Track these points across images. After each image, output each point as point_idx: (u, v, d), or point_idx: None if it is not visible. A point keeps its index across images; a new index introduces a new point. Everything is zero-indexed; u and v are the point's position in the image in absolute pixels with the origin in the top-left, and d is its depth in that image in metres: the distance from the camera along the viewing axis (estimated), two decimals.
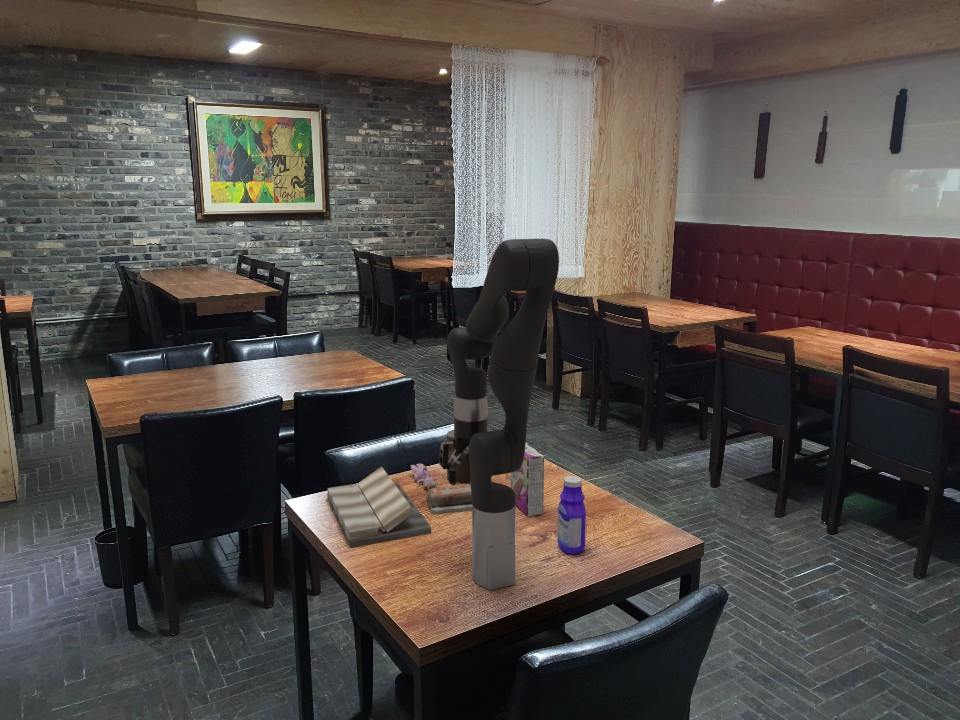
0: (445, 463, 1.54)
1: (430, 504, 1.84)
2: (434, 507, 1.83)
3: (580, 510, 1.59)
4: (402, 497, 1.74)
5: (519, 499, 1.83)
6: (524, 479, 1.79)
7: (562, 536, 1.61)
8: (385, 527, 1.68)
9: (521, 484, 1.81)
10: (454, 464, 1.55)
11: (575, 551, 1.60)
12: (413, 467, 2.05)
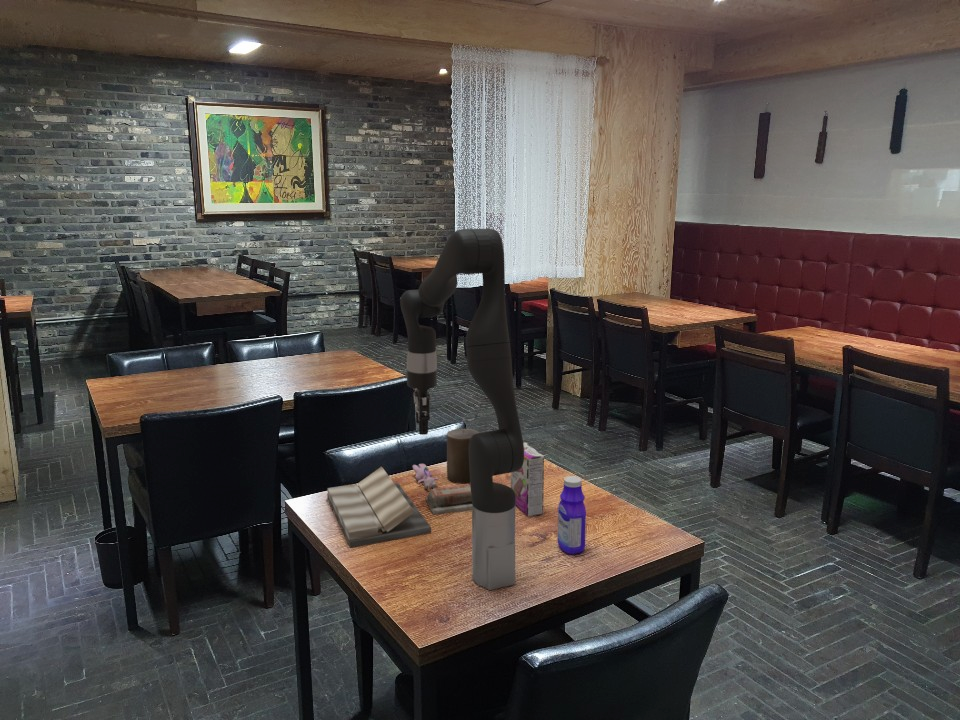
0: None
1: (431, 504, 1.84)
2: (435, 508, 1.83)
3: (580, 510, 1.59)
4: (402, 497, 1.74)
5: (519, 499, 1.83)
6: (524, 479, 1.79)
7: (562, 536, 1.61)
8: (385, 527, 1.68)
9: (521, 484, 1.81)
10: None
11: (575, 551, 1.60)
12: (415, 467, 2.05)
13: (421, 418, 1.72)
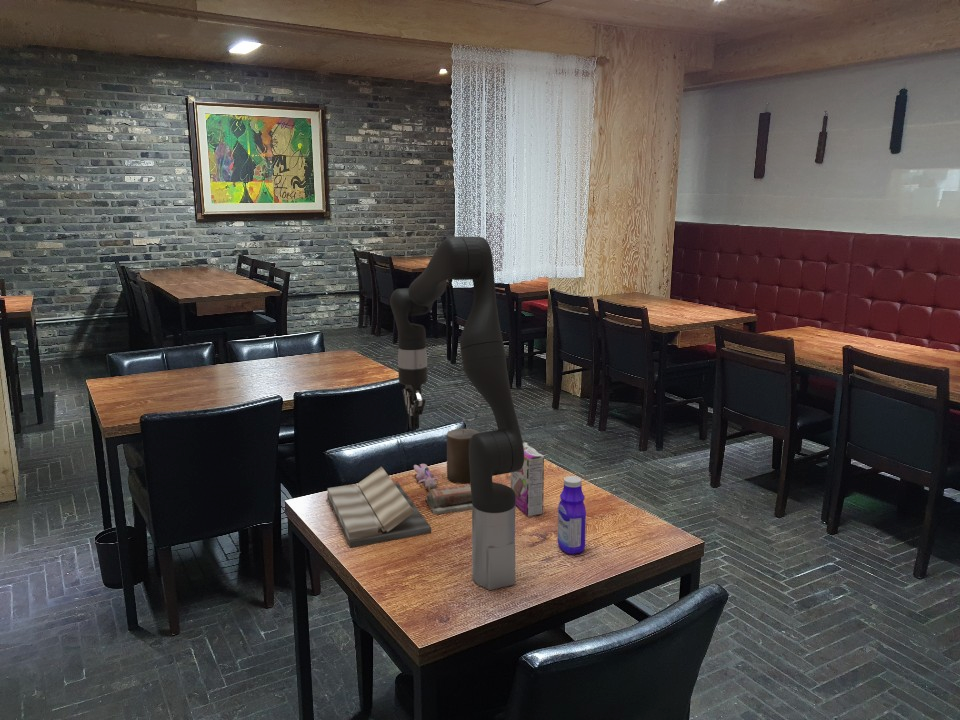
0: None
1: (431, 505, 1.84)
2: (436, 508, 1.83)
3: (580, 510, 1.59)
4: (402, 497, 1.74)
5: (519, 499, 1.83)
6: (524, 479, 1.79)
7: (562, 536, 1.61)
8: (385, 527, 1.68)
9: (521, 484, 1.81)
10: None
11: (575, 551, 1.60)
12: (416, 467, 2.05)
13: (414, 413, 1.80)
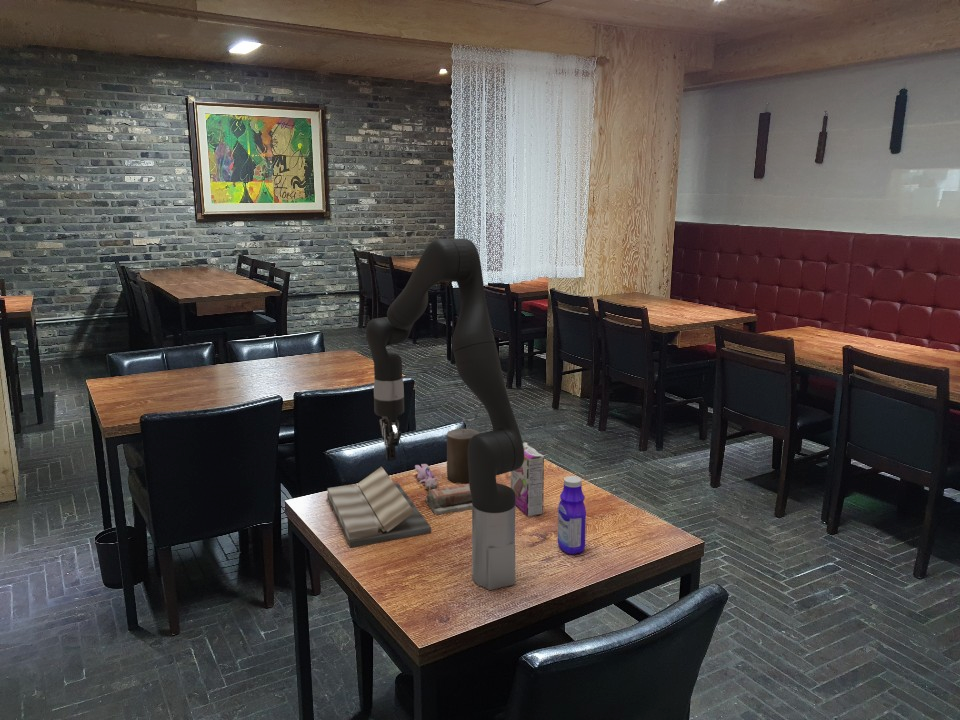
0: None
1: (432, 505, 1.84)
2: (437, 508, 1.83)
3: (580, 510, 1.59)
4: (402, 497, 1.74)
5: (519, 499, 1.83)
6: (524, 479, 1.79)
7: (562, 536, 1.61)
8: (385, 527, 1.68)
9: (521, 484, 1.81)
10: None
11: (575, 551, 1.60)
12: (417, 467, 2.04)
13: (390, 445, 1.75)
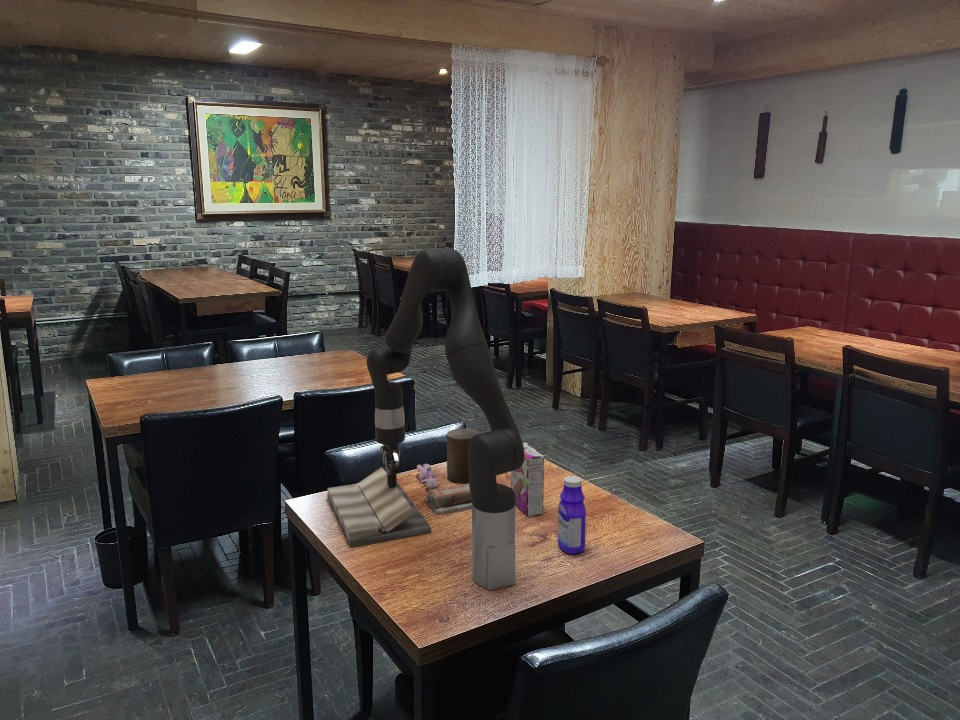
0: None
1: (433, 505, 1.83)
2: (438, 508, 1.82)
3: (580, 510, 1.59)
4: (402, 498, 1.74)
5: (519, 499, 1.83)
6: (524, 479, 1.79)
7: (562, 536, 1.61)
8: (385, 527, 1.68)
9: (521, 484, 1.81)
10: None
11: (575, 551, 1.60)
12: (419, 467, 2.05)
13: (391, 472, 1.77)
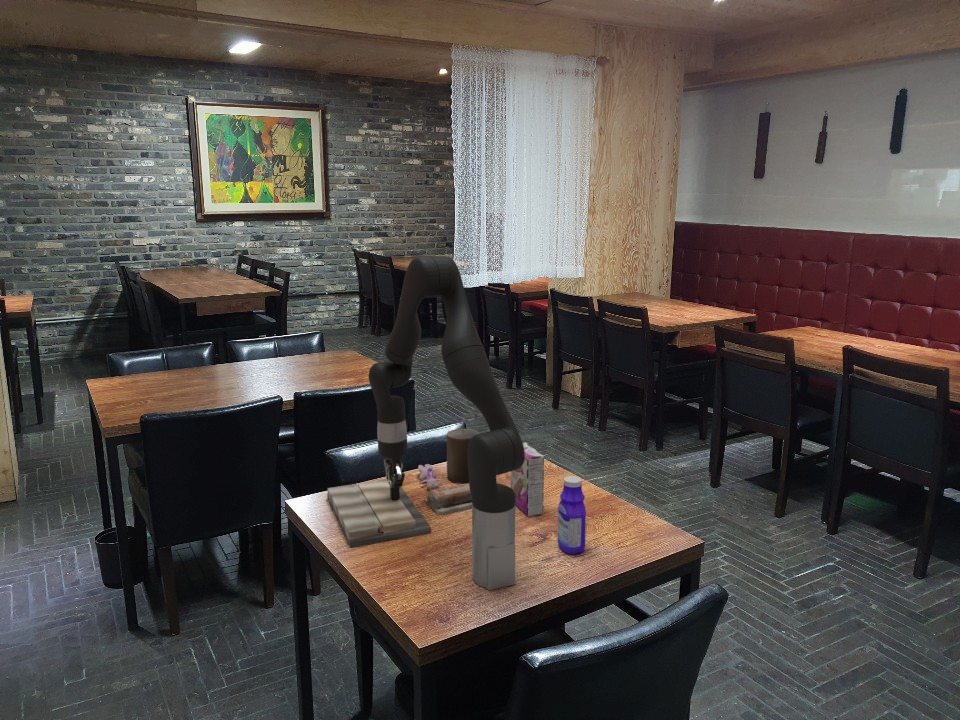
0: None
1: (434, 506, 1.83)
2: (439, 509, 1.82)
3: (580, 510, 1.59)
4: (406, 510, 1.76)
5: (519, 499, 1.83)
6: (524, 479, 1.79)
7: (562, 536, 1.61)
8: (384, 528, 1.68)
9: (521, 484, 1.81)
10: None
11: (575, 551, 1.60)
12: (420, 467, 2.04)
13: (394, 485, 1.78)
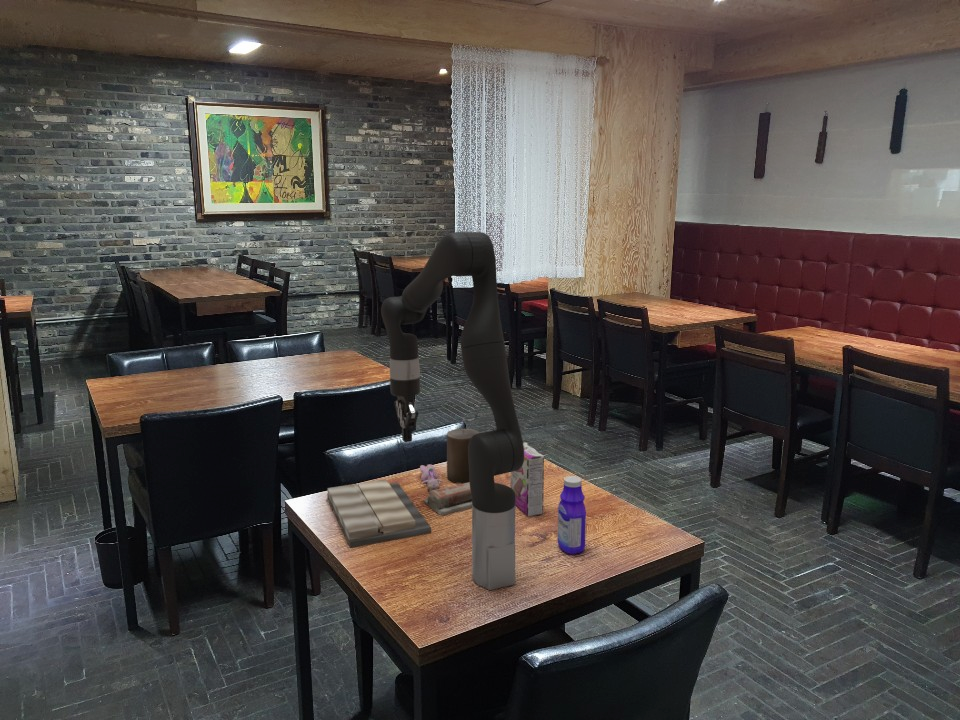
0: None
1: (435, 506, 1.83)
2: (441, 509, 1.82)
3: (580, 510, 1.59)
4: (406, 510, 1.76)
5: (519, 499, 1.83)
6: (524, 479, 1.79)
7: (562, 536, 1.61)
8: (384, 528, 1.68)
9: (521, 483, 1.81)
10: None
11: (575, 551, 1.60)
12: (422, 467, 2.04)
13: (407, 425, 1.74)
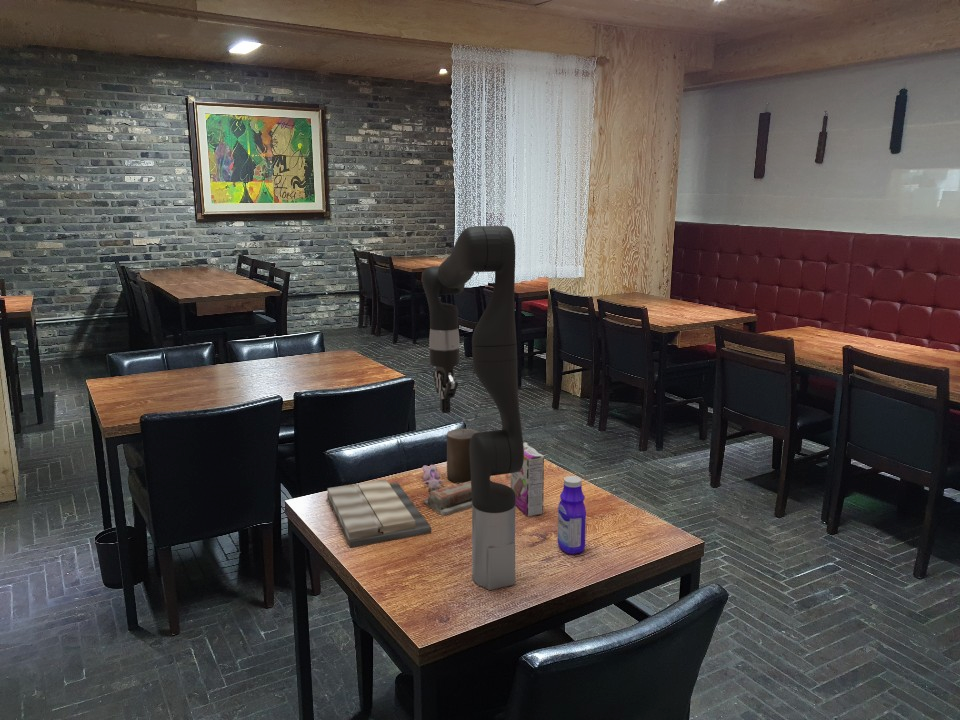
0: None
1: (437, 506, 1.83)
2: (442, 509, 1.82)
3: (580, 510, 1.59)
4: (406, 510, 1.76)
5: (519, 499, 1.83)
6: (524, 479, 1.79)
7: (562, 536, 1.61)
8: (384, 528, 1.68)
9: (521, 484, 1.81)
10: None
11: (575, 551, 1.60)
12: (424, 468, 2.04)
13: (446, 396, 1.74)
